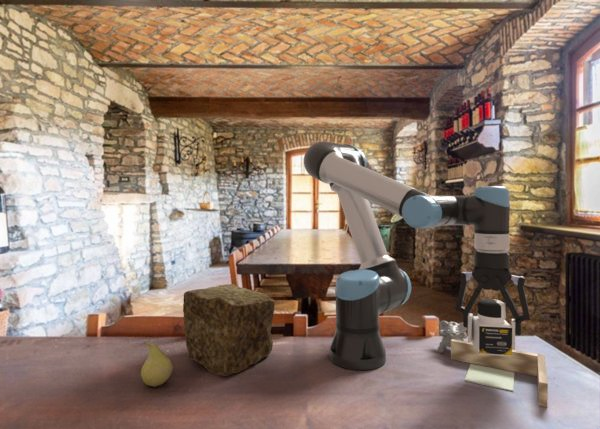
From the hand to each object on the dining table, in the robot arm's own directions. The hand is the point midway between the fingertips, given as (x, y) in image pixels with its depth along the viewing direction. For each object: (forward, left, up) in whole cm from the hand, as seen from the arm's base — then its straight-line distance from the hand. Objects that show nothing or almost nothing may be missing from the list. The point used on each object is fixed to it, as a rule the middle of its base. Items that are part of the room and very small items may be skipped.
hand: (491, 344), depth 90 cm
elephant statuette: (-11, +14, -8) cm, 20 cm away
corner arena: (0, -1, -8) cm, 8 cm away
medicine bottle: (0, 0, -2) cm, 2 cm away
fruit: (-67, -44, -8) cm, 81 cm away
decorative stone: (-62, -24, -8) cm, 67 cm away
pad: (0, 0, -8) cm, 8 cm away
